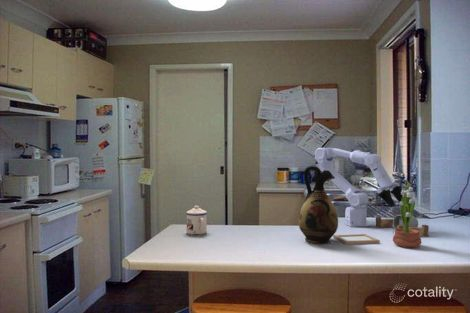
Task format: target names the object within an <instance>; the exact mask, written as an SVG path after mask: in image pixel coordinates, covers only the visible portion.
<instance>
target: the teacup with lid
mask: <svg viewBox="0 0 470 313" xmlns="http://www.w3.org/2000/svg"><path fill="white" fill-rule="evenodd" d="M185 214H186V233H187V235H193V234H199V235H204V234H206V233H207V226H208V225H207V224H208V222H207V215H208V212H207V210H204V209H202V208H200V205H194V207H193V208H191V209H190V210H187V211H186V212H185ZM203 233H204V234H203Z"/></svg>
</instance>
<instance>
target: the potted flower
mask: <svg viewBox="0 0 470 313" xmlns="http://www.w3.org/2000/svg"><path fill="white" fill-rule="evenodd" d="M406 183H407V184H406ZM404 184H406V187H402V192H401V195H403V197H402V198H403V199H401V202H400V203H399V206H400V215H401V216H402V220H403V223H404V228H399V229H394V235H393V236H392V241H393V243H394V244H395V245H396V246H398V247H401V248H409V249H413V248H418V247H420V246H421V245H422V237H421V236H419V233H420V232H419V231H418V230H414V229H409V222H410V220H411V217H412V216H414V212H415V211H414V210H415V206H416V205H415V204H416V202H415V200H414V199H413V197H415V196H416V194H415V192H414V188H413V187H412V186H411V184H410V182H408V180H406V181H405V182H404Z"/></svg>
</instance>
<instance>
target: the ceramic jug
mask: <svg viewBox="0 0 470 313" xmlns="http://www.w3.org/2000/svg"><path fill="white" fill-rule="evenodd" d="M310 172H315V173H316V174H314V176H313V177H312V178H311V182H312V183H315V184H314V187H313V189H312V186H311V184H310V178H309V173H310ZM334 178H335V177H334V176H333V175H332V174H331V172H330V171H328V170H327V171H326V170H324V171H323V172H322V171H321V170H320V167H318V166H316V165H309V166H307V167H306V168H305V169H304V172H303V180H304V183H305V187H306V191H307V193H306V196H305V199H304V202H303V204H302V206H301V209H300V212H299V214H298V222H297V223H298V227H299V230H300V231H301V233H302V235H304V236H305V238H304V239H305V241H306V242H308V243H312V244H316V245H317V244H318V245H323V244H330V241H331V238H333V235H336V232H337V231H338V228H339V218H338V213H337V209H336V208H335V205H334V203H333V201H332V200H331V198H330V196H329V194H327V191H326V190H325V187H324V184H325V183H326V182H329V181H331V179H334Z"/></svg>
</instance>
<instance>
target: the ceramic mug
mask: <svg viewBox="0 0 470 313" xmlns="http://www.w3.org/2000/svg"><path fill="white" fill-rule="evenodd" d="M393 219H394V220H393V227H392V229H393V230H395V229H397V225H402V226H403V227H404V223H403V220H402V216H401V214H397V215H395V216H394V218H393ZM409 227H419V221H418V219H417V217H416V216H414V215H412V217H411V220H410V222H409Z"/></svg>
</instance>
